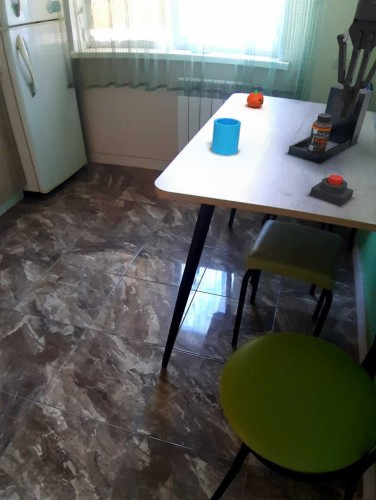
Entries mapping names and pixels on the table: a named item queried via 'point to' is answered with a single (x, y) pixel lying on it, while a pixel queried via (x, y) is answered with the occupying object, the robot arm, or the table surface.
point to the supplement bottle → (320, 134)
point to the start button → (335, 180)
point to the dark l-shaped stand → (337, 125)
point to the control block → (332, 192)
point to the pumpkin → (255, 99)
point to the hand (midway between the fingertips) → (344, 116)
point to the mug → (226, 136)
